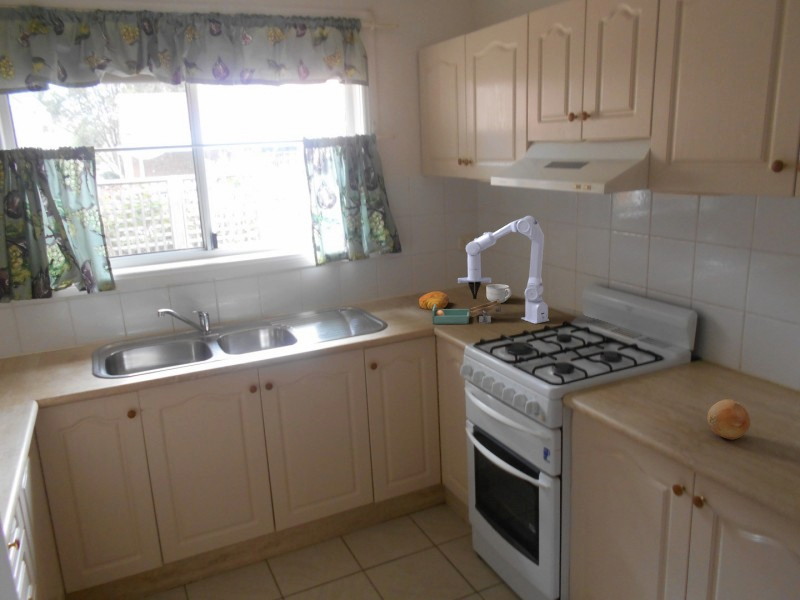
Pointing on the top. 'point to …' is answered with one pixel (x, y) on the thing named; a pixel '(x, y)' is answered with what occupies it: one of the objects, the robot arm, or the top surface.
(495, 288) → the teacup
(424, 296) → the croissant
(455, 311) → the tray
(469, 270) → the robot arm
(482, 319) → the launcher stand
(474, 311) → the chute
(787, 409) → the top surface
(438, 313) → the ball
